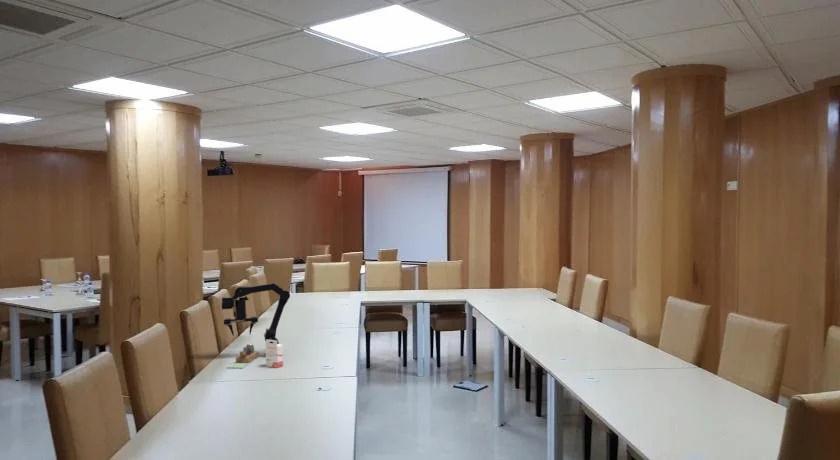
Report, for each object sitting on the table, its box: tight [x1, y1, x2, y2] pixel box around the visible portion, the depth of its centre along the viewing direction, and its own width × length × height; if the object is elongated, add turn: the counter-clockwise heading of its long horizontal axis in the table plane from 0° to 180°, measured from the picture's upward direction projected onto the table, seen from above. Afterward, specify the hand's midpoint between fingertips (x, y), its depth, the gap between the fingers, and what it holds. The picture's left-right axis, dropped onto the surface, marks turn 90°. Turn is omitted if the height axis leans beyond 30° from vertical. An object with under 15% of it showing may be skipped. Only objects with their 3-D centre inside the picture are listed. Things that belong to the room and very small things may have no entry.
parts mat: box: [225, 362, 250, 370], centre depth 310 cm, size 9×9×1 cm
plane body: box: [235, 350, 260, 364], centre depth 324 cm, size 7×16×6 cm, turn 175°
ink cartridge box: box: [265, 339, 284, 369], centre depth 310 cm, size 9×5×15 cm, turn 62°
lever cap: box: [242, 343, 255, 355], centre depth 326 cm, size 4×6×5 cm, turn 175°
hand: (241, 335), depth 330 cm, fingers open, 9 cm apart
